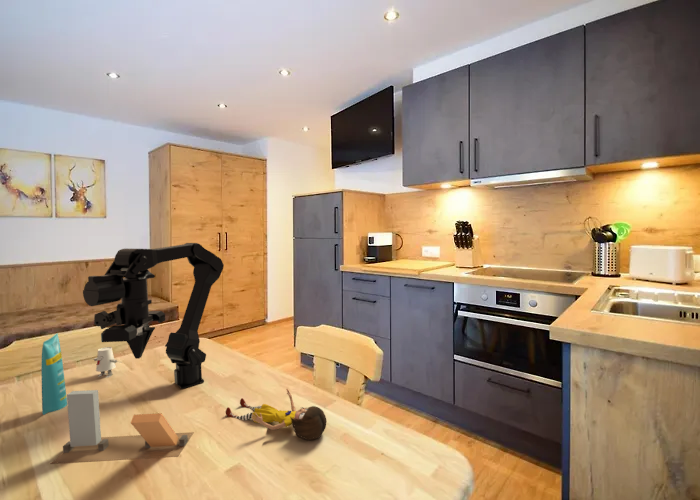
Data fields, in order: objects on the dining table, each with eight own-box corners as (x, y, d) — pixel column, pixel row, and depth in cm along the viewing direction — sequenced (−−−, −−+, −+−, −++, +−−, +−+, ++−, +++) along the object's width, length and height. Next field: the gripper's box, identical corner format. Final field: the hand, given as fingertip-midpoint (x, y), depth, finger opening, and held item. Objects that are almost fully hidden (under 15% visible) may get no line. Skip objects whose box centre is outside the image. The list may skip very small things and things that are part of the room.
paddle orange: (153, 439, 71) (133, 414, 64) (178, 437, 71) (161, 413, 64) (150, 446, 70) (130, 422, 63) (176, 445, 70) (158, 421, 63)
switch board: (80, 442, 74) (79, 432, 74) (194, 436, 76) (193, 426, 75) (50, 468, 66) (49, 456, 66) (178, 461, 68) (177, 449, 67)
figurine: (251, 385, 90) (334, 390, 80) (255, 413, 91) (339, 422, 80) (212, 409, 78) (304, 419, 68) (217, 441, 79) (309, 457, 68)
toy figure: (82, 377, 108) (80, 350, 107) (99, 370, 113) (97, 344, 113) (112, 381, 105) (110, 353, 104) (128, 373, 110) (127, 347, 110)
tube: (62, 415, 85) (57, 339, 84) (37, 420, 83) (31, 342, 82) (71, 402, 92) (66, 331, 91) (48, 406, 90) (42, 334, 89)
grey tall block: (75, 442, 71) (72, 391, 70) (101, 440, 71) (97, 390, 70) (70, 446, 69) (66, 394, 69) (96, 445, 70) (92, 393, 69)
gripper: (123, 292, 96) (126, 346, 97) (74, 307, 77) (78, 374, 78) (164, 290, 96) (167, 345, 97) (125, 305, 78) (129, 372, 79)
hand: (138, 358), depth 88 cm, fingers closed
